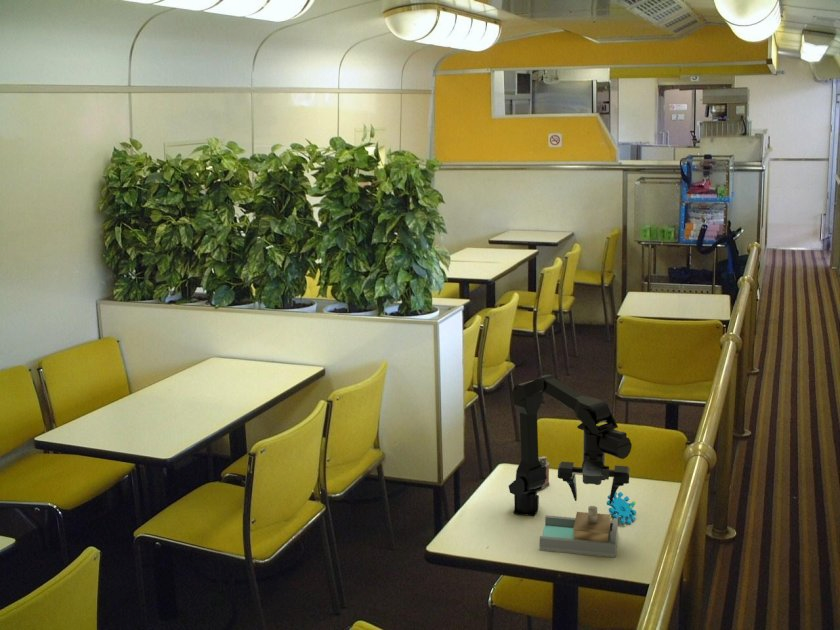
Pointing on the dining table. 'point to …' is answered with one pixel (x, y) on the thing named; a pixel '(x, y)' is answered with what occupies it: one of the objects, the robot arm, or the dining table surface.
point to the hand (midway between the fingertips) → (593, 501)
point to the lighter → (547, 464)
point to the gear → (622, 508)
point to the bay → (562, 539)
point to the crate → (592, 525)
